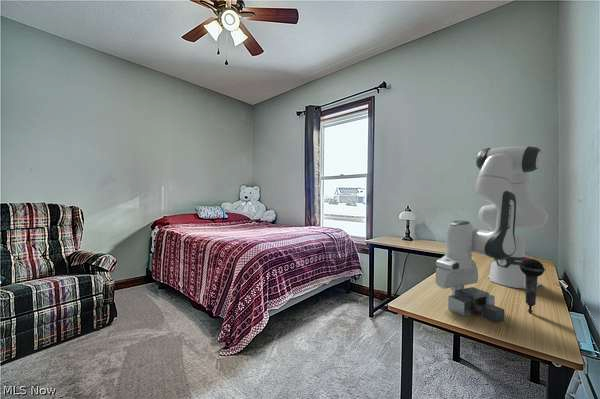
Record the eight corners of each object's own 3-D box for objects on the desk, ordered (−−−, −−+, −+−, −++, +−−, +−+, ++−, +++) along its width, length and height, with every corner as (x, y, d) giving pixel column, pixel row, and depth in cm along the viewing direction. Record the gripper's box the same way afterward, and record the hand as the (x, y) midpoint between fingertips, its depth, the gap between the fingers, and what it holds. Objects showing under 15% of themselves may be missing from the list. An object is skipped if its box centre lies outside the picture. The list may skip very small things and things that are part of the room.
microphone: (542, 312, 90) (544, 258, 90) (544, 319, 85) (546, 262, 85) (517, 306, 95) (519, 255, 94) (517, 312, 90) (519, 258, 89)
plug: (462, 303, 97) (462, 292, 97) (504, 321, 84) (504, 308, 84) (454, 304, 96) (454, 293, 95) (495, 323, 82) (496, 310, 82)
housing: (477, 302, 98) (478, 285, 98) (494, 309, 92) (494, 291, 92) (448, 309, 92) (448, 291, 92) (463, 316, 86) (464, 297, 86)
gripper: (467, 257, 104) (466, 289, 104) (432, 261, 96) (431, 296, 96) (483, 261, 98) (482, 295, 98) (447, 266, 90) (446, 303, 91)
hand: (457, 296), depth 97 cm, fingers closed
